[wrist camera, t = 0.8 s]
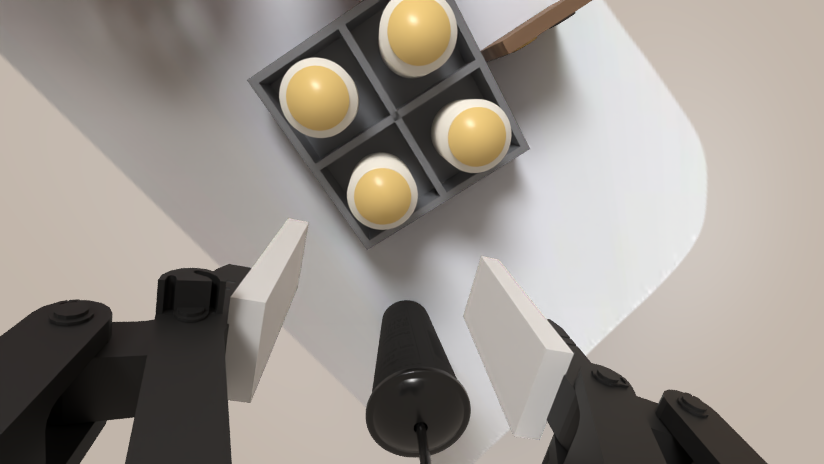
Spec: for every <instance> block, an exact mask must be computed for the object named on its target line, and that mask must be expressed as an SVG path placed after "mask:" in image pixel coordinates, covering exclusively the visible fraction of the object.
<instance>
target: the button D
mask: <svg viewBox="0 0 824 464" xmlns="http://www.w3.org/2000/svg"><path fill="white" fill-rule="evenodd" d="M431 139H432V143H433V145H434V147H435V149H436V151H437V152H438V153H439V154H440V155H441V156H442V157H443V158H444V159H445V160H447V161H448V162H449V163H451V164H452V165H453V166H454V167H456V168H457V169H459V170H461V171H464V172H469V173H480V172H484V171H487V170H489V169H491V168H493V167H494V166H496V165H497V164H498V163H499V162H500V161H501V160H502V159H503V158H504V156H505V155H506V153H507V151H508V149H509V146H510V142H511V126H510V122H509V120H508V117H507V116H506V114H505V113H504V111H503V110H502V109H501V108H500V107H499V106H497V105H496V104H494V103H492V102H490V101H487V100H482V99H466V100H456V101H452V102H450V103H448V104H446V105H445V106H444V107H442V108H441V109H440V110H439V111H438V113H437V114H436V116H435V118H434V120H433V123H432V127H431Z"/></svg>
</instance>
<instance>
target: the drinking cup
mask: <svg viewBox="0 0 824 464" xmlns="http://www.w3.org/2000/svg"><path fill="white" fill-rule="evenodd" d="M470 413H471V406H470V401H469V397H468V395H467V392H466V390H465V388H464V387H463V385H462V384H461V383H460V382H459V381H458V380H457V378H456V376H455V374H454V372H453V369H452V367H451V365H450V363H449V360H448V358H447V356H446V354H445V352H444V349H443V347H442V345H441V343H440V340H439V338H438V336H437V334H436V331H435V329H434V327H433V325H432V323H431V320H430V318H429V316H428V314H427V312H426V310H425V309H424V307H423V306H421V305H420V304H418V303H417V302H414V301H409V300H404V301H399V302H396V303H394V304H392V305H391V306H390V307H389V308H388V309H387V310H386V311H385V313H384V315H383V319H382V326H381V333H380V340H379V347H378V354H377V361H376V368H375V375H374V382H373V389H372V394H371V396H370V398H369V400H368V403H367V407H366V424H367V428H368V430H369V432H370V434H371V436H372V438H373V439H374V440H375V442H376V443H378V445H380V446H381V447H382V448H383V449H385V450H387V451H389V452H391V453H393V454H396V455H399V456H404V457H420V464H431V459H430V455H433V454H436V453H438V452H441V451H443V450H445V449H446V448H448V447H449V446H451V445H452V444H453V443H455V442H456V441H457V440H458V439H459V438H460V437H461V435H462V434H463V432H464V431H465V429H466V427H467V425H468V422H469V419H470Z"/></svg>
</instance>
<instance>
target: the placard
mask: <svg viewBox="0 0 824 464" xmlns="http://www.w3.org/2000/svg"><path fill="white" fill-rule="evenodd" d="M590 1H592V0H560V1H558V2H556V3H554V4H552V5H551V6H549V7H547V8H546V9H544V10H543V11H541V12H540V13H538V14H537V15H535V16H533V17H532V18H530V19H529V20H527V21H526V22H524V23H523V24H521V25H520V26H518V27H517V28H515V29H514V30H512V31H510V32H509V33H507V34H506V35H504V36H503V37H501V38H500V39H498V40H497V41H495V42H494V43H492V44H490V45H489V46H487V47H486V48H484V49H483V50H481V53H482V55H483V57H484V59H485V61H486V62H488V61H491V60H494V59H497V58H499V57H502V56H505V55H508V54H510V53H511V52H512V53H513V52H515V51H517V50H519V49H521V48H523V47H524V46H526V45H527V44H529V43H531V42H532V41H534V40H535V39H536V38H537V36H538V35H539V34H541V33H542V32H544V31H546V30H547V29H550V28H552V27H554V26H556V25H558V24H560V23H561V22H563V21H565V20H566V19H568V18H569V17H571V16H572V15H574V14H575V11H577V10H578V9H580V8H581V7H583V6H584V5H586V4H587V3H589V2H590Z"/></svg>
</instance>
